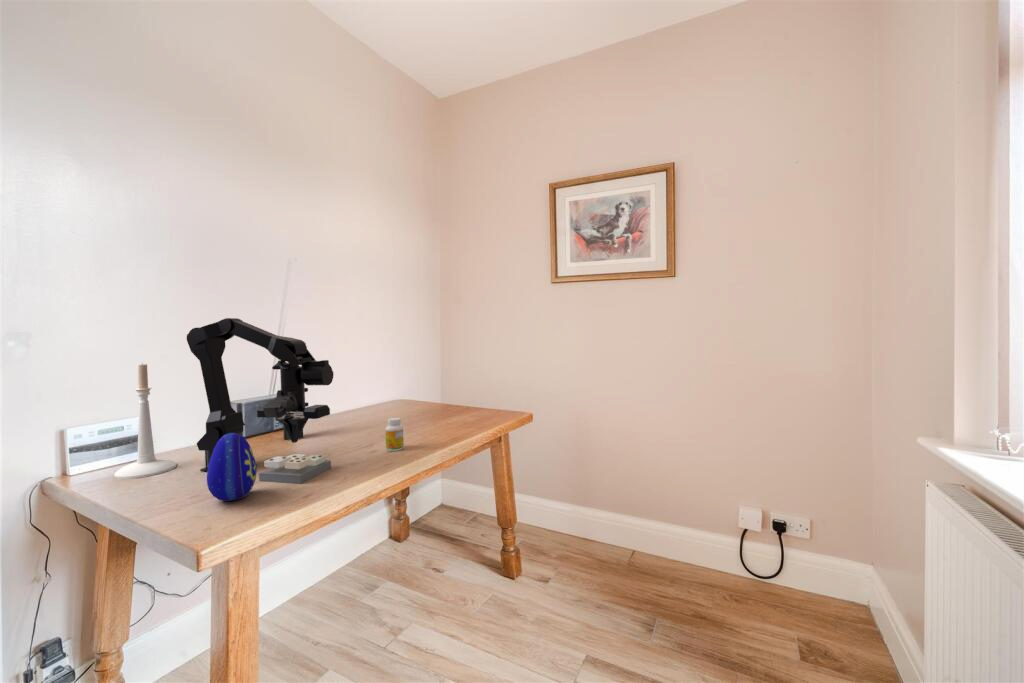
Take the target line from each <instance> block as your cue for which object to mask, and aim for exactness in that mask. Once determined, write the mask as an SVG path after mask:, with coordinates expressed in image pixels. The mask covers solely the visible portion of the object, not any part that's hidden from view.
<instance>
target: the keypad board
mask: <svg viewBox="0 0 1024 683" xmlns="http://www.w3.org/2000/svg"><path fill="white" fill-rule="evenodd" d="M330 469H332V461H331V460H327V459H326V461H325V462H323V463H321V464H319V465H317V466H305V467H303V468H301V469H288V468H285V465H284V466H282V467H280V468H272V467H269V468H267V469H265V470H263V471H261V472H258V481H259V482H271V483H281V484H282V483H285V484H298V485H299V484H303V483H304V482H306V481H308V480H310V479H313V478H314V477H316V476H318V475H320V474H322V473H324V472H326V471H327V470H330Z"/></svg>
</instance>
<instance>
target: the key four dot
mask: <svg viewBox="0 0 1024 683" xmlns="http://www.w3.org/2000/svg"><path fill="white" fill-rule="evenodd" d="M309 464H311V458H299V457H296V458H294V459H291V460H289V461H287V462H285V468H288V469H301V468H303V467H305V466H307V465H309Z"/></svg>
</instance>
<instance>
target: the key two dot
mask: <svg viewBox="0 0 1024 683" xmlns="http://www.w3.org/2000/svg"><path fill="white" fill-rule="evenodd" d="M289 460H291V457H287V456H277V455H276V456H273V457H271V458H269V459H266V460H264V462H263V463H264V465H263V466H264V468H280V467H282V466H284V465H285V462H287V461H289Z"/></svg>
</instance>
